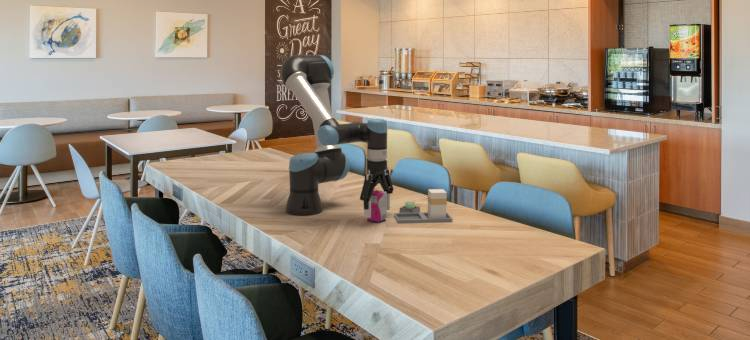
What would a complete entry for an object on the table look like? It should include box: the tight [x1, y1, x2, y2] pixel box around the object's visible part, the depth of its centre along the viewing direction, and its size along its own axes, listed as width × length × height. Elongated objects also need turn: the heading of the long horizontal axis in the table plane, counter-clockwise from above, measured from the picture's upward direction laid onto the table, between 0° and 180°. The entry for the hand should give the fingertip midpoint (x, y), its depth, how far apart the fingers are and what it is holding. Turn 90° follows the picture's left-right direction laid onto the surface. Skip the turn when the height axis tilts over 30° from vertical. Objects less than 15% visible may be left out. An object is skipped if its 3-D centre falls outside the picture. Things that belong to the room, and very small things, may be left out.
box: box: [427, 188, 448, 219], centre depth 224 cm, size 6×6×11 cm
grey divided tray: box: [393, 211, 453, 224], centre depth 225 cm, size 21×10×2 cm, turn 97°
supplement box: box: [366, 189, 388, 224], centre depth 225 cm, size 6×6×12 cm
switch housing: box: [399, 205, 421, 213], centre depth 234 cm, size 6×6×3 cm
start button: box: [404, 201, 416, 209], centre depth 234 cm, size 4×4×4 cm
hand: (377, 213), depth 225 cm, fingers open, 13 cm apart
